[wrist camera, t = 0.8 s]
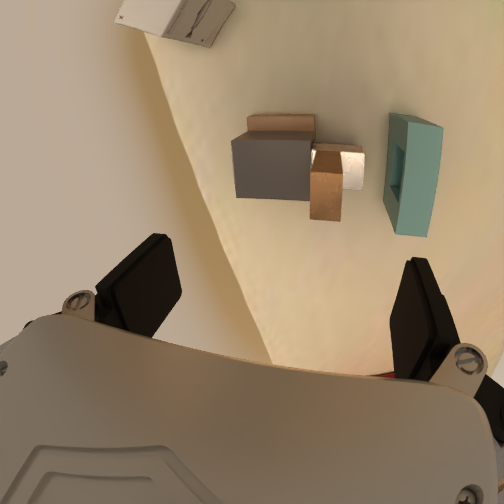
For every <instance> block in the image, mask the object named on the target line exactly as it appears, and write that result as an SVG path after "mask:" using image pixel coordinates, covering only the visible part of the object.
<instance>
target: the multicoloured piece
mask: <svg viewBox="0 0 504 504" xmlns="http://www.w3.org/2000/svg"><path fill="white" fill-rule="evenodd" d="M231 152H232V149H231ZM364 158H365V153H364V151H363V149H362V147H361V146H355V145H341V144H325V143H312V145H311V172H310V219H313V220H326V221H339V222H340V218H341V204H342V189H353V190H362V188H363V174H364ZM232 163H233V156H232ZM233 174H234V167H233ZM234 184H235V178H234Z"/></svg>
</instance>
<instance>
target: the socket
mask: <svg viewBox="0 0 504 504" xmlns="http://www.w3.org/2000/svg"><path fill="white" fill-rule="evenodd" d="M442 139H443V128H442V127H440V126H438V125H436V124H433V123H431V122H428V121H426V120H424V119H421V118H419V117H414V116H408V115H401V114H394V113H389V139H388V155H387V168H386V178H385V188H384V197H383V202H384V204H385V207H386V209H387V212H388V215H389V218H390V220H391V223H392V226H393V229H394V232H395V234H399V235H409V236H419V237H427V233H428V229H429V224H430V219H431V215H432V210H433V204H434V199H435V193H436V187H437V181H438V174H439V167H440V159H441V150H442Z"/></svg>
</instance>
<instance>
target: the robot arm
mask: <svg viewBox="0 0 504 504" xmlns="http://www.w3.org/2000/svg"><path fill="white" fill-rule="evenodd" d="M95 288H96V290H97V294H96V295H94V293H93V292H92V291H89V290H82V291H78V292H75V293H73V294H72V295H70V296H69V297H68V298H67V299H66V300H65V301H64V304H63V307H62V311H61V312H58V313H55V314H52V315H47V316H42V317H39V318H37V319H36V320H34V321H30V322H28V323H27V324H26V325H25V327H24V328H23V330H22V331H21V332H20V333H19V334H18V335H17V336H16V337H14V338H12V339H11V340H9V341H7V342H5V343H4V344H2V345H1V346H0V504H504V388H503V387H502V386H500V385H499V384H498V383H497V382H495V381H494V380H493V379H491V378H490V377H489V376H488V375H486V372H487V368H488V363H487V359H486V356H485V355H484V353H483V352H482V351H481V350H480V349H479V348H478V347H476V346H474V345H472V344H468V343H460V339H459V336H458V333H457V330H456V327H455V324H454V321H453V318H452V315H451V312H450V310H449V307H448V304H447V301H446V299H445V297H444V295H442V294H441V292H440V289H439V287H438V284H437V282H436V279H435V277H434V274H433V272H432V269H431V267H430V265H429V262H428V260H427V259H426V258H418V257H412V258H411V261H409V260H407V261H406V264H405V268H404V271H403V275H402V279H401V283H400V286H399V290H398V293H397V296H396V300H395V303H394V306H393V310H392V313H391V316H390V332H391V341H392V351H393V363H394V376H395V378H385V377H373V376H360V375H350V374H341V373H331V372H322V371H314V370H306V369H299V368H292V367H285V366H279V365H273V364H267V363H261V362H255V361H249V360H244V359H239V358H234V357H229V356H224V355H219V354H214V353H210V352H206V351H201V350H197V349H193V348H188V347H184V346H180V345H176V344H172V343H168V342H164V341H161V340H157V339H153V338H152V337H153V335H154V334H155V332H156V331H157V329H158V328H159V327H160V325H161V324H162V322H163V321H164V320H165V318H166V317H167V315H168V314H169V312H170V311H171V310H172V308H173V307H174V306H175V304H176V302H177V301H178V300H179V299H180V297H181V294H182V289H181V284H180V280H179V275H178V271H177V266H176V261H175V256H174V252H173V246H172V242H171V239H170V238H168V236H167V235H166V234H157V233H153V234H152V235H151V236H149V237H148V238H147V239H146V240H145V241H144V242H142V243H141V244H140V245H139V246H138V247H137V248H136V249H135V250H133V251H132V252H131V253H130V254H129V255H128V256H127V257H126V258H125V259H123V260H122V261H121V262H120V263H119V264H118V265H117V266H116V267H115V268H114V269H113V270H112V271H111V272H109V274H107V275H106V276H105V277H104V278H103V279H102V280H101V281H100V282H99V283H98V284H97V285H96V286H95Z"/></svg>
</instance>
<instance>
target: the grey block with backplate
mask: <svg viewBox="0 0 504 504" xmlns="http://www.w3.org/2000/svg"><path fill="white" fill-rule="evenodd" d="M247 125H248V132H246V133H244V134H242V135H240V136H239V137H237V138H235V139H233V140H232V141H231V145H232V156H233V167H234V178H235V188H236V198H256V199H280V200H299V201H310V172H311V145H312V143H315V115H307V114H268V115H251V116H249V117H247Z"/></svg>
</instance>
